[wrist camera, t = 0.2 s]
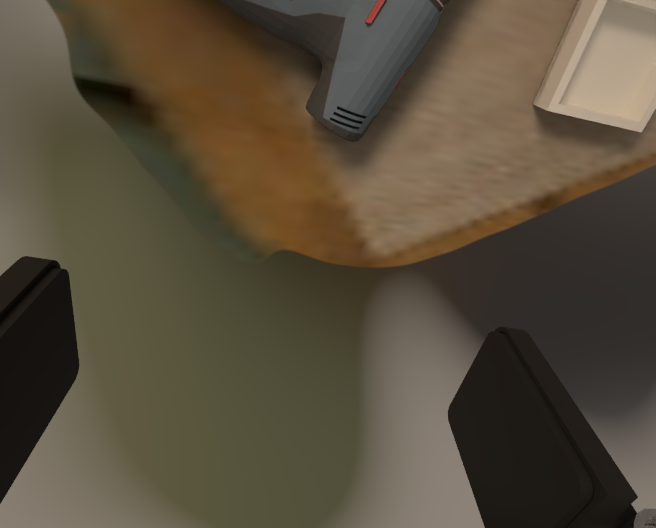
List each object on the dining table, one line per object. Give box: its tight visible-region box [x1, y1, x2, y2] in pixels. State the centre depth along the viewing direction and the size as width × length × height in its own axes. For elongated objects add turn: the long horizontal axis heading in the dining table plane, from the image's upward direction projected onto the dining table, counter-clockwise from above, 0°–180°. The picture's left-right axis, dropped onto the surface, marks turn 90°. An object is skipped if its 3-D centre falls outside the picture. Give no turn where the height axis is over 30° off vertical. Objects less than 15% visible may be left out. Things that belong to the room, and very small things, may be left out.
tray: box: [533, 0, 656, 132], centre depth 35 cm, size 9×9×3 cm
